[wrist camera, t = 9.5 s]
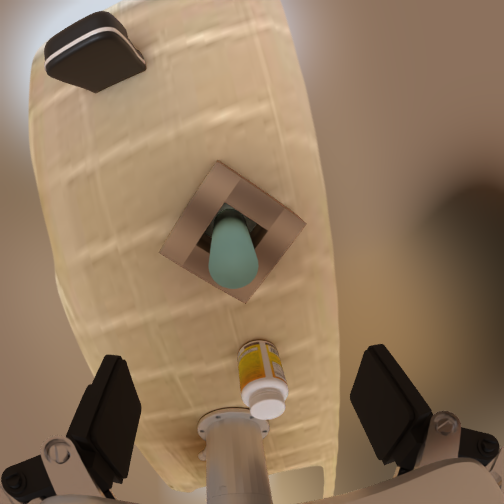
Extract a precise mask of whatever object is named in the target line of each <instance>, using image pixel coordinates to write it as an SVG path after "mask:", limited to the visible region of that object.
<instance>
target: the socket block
mask: <svg viewBox="0 0 504 504" xmlns="http://www.w3.org/2000/svg"><path fill="white" fill-rule="evenodd" d="M224 202H226V203H227V204H229V205H230V206H232V207H233V208H235V209H236V210H238V211H239V212H241V213H242V214H244V215H245V216H247V217H248V218H250V219H251V220H253V221H254V222H256V223H257V225H256V227H255V228H254V229H253V231H252V232H251V234H250V238H251V241H252V244H253V247H254V250H255V253H256V256H257V259H258V272H257V274H256V276H255V278H254V279H253V280H252V282H250V283H249V284H248V285H246V286H244V287H242V288H238V289H229V288H225V287H222V286H220V285H219V284H217V283H216V282H215V281H214V280H213V278H212V277H211V275H210V272H209V257H210V249H211V241H212V238H211V237H209V236H208V235H206V234H205V233H204V232H205V230H206V229H207V227H208V226H209V224H210V223H211V221H212V220H213V218H214V217H215V215H216V214H217V212H218V211H219V209H220V208H221V206H222V205H223V203H224ZM305 225H306V223H305V222H304V221H303V220H302V219H301V218H300V217H298V216H297V215H296V214H295V213H294V212H292V211H291V210H290V209H288V208H287V207H286V206H284V205H283V204H281V203H280V202H279V201H277V200H276V199H274V198H273V197H271V196H270V195H269V194H267V193H266V192H264V191H263V190H261V189H260V188H259V187H257V186H256V185H254V184H253V183H251V182H250V181H248V180H247V179H245V178H244V177H243V176H241V175H240V174H238V173H237V172H235V171H234V170H232V169H231V168H229V167H228V166H226V165H225V164H223V163H222V162H220V161H219V160H218V161H217V162H216V163H215V164H214V166H213V167H212V169H211V170H210V172H209V173H208V175H207V176H206V178H205V179H204V181H203V182H202V184H201V185H200V187H199V188H198V190H197V191H196V193H195V194H194V196H193V197H192V199H191V201H190V202H189V204H188V205H187V207H186V208H185V210H184V212H183V213H182V215H181V216H180V218H179V220H178V221H177V223H176V224H175V226H174V228H173V229H172V231H171V233H170V234H169V236H168V238H167V239H166V241H165V243H164V244H163V246H162V248H161V249H160V251H159V253H160V254H162V255H163V256H165V257H166V258H168V259H170V260H171V261H173V262H175V263H176V264H178V265H180V266H181V267H183V268H185V269H186V270H188V271H190V272H191V273H193V274H195V275H196V276H198V277H200V278H201V279H203V280H205V281H206V282H208V283H210V284H212V285H213V286H215V287H217V288H218V289H220V290H222V291H224V292H225V293H227V294H229V295H231V296H232V297H234V298H236V299H238V300H240V301H241V302H243V303H245V304H246V303H247V301H248V300H249V299H250V297H251V296H252V295H253V294H254V292H255V291H256V290H257V288H258V287H259V286H260V285H261V283H262V282H263V281H264V279H265V278H266V277H267V276H268V274H269V273H270V272H271V270H272V269H273V268H274V266H275V265H276V264H277V262H278V261H279V260H280V258H281V257H282V256H283V255H284V253H285V252H286V251H287V249H288V248H289V247H290V245H291V244H292V243H293V241H294V240H295V239H296V237H297V236H298V235H299V233H300V232H301V231H302V229H303V228H304V227H305Z"/></svg>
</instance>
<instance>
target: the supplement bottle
mask: <svg viewBox="0 0 504 504" xmlns="http://www.w3.org/2000/svg"><path fill="white" fill-rule="evenodd" d="M238 368H239V378H240V388H241V397H242V400H243V402H244V403H245V404H246V405H247V406H248V407H249V408H250V413H251V415H252V416H253V417H255V418H257V419H261V420H269V419H273V418H276V417H278V416H280V415H281V414H282V413H283V412H284V411H285V400H286V398H287V396H288V386H287V382H286V379H285V375H284V372H283V368H282V365H281V361H280V358H279V354H278V351H277V349H276V347H275V346H274V345H273V344H271V343H269V342H267V341H262V340H257V341H252V342H249V343H247V344H245V345H244V346H243V347H242V348H241V349H240V351H239V353H238Z"/></svg>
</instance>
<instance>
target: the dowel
mask: <svg viewBox="0 0 504 504" xmlns="http://www.w3.org/2000/svg"><path fill="white" fill-rule="evenodd" d="M209 272H210V275H211V277H212V278H213V280H214V281H215V282H216V283H217V284H219V285H220V286H222V287H225V288H229V289H238V288H242V287H244V286H246V285H248V284H249V283H250V282H252V280H253V279H254V278H255V276H256V274H257V272H258V259H257V256H256V253H255V250H254V247H253V244H252V241H251V238H250V234H249V231H248V228H247V225H246V222H245V219H244V217H243V215H242V214H241V213H240V212H239V211H237V210H234V209H225V210H223V211H221V212H220V213H218V215H217V216H216V218H215V220H214V227H213V234H212V241H211V249H210V257H209Z"/></svg>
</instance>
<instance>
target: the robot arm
mask: <svg viewBox="0 0 504 504" xmlns="http://www.w3.org/2000/svg"><path fill="white" fill-rule="evenodd" d="M350 400H351V403H352V405H353V407H354V409H355V411H356V413H357V415H358V417H359V419H360V422H361V424H362V426H363V428H364V430H365V432H366V434H367V436H368V439H369V441H370V443H371V445H372V447H373V449H374V451H375V454H376V456H377V458H378V459H379V460H382V461H383V463H384V465H386V464H389V463H392V462H394V461H395V462H396V464H397V468H396V471H395V474H394V476H393V478H392V479H389V480H386V481H383V482H380V483H378V484H375V485H371V486H368V487H365V488H362V489H359V490H355V491H352V492H349V493H345V494H341V495H337V496H333V497H328V498H324V499H319V500H314V501H309V502H304V503H298V504H504V447H502V448H501V449H500V448H499V443H498V441H497V439H496V438H495V437H494V436H493V435H490V434H486V433H482V432H478V431H474V430H470V429H466V428H462V427H461V422H460V420H459V418H458V417H457V416H456V415H455V414H453V413H452V412H449V411H439V412H437V413H435V414H434V415H433V414H432V412H431V409H430V407H429V406H428V404H427V403H426V402H425V400H424V399H423V397H422V396H421V395H420V393H419V392H418V390H417V389H416V387H415V386H414V385H413V383H412V382H411V381H410V379H409V378H408V377H407V375H406V374H405V372H404V371H403V370H402V368H401V367H400V366H399V364H398V363H397V362H396V360H395V359H394V357H393V356H392V355H391V354H390V352H389V351H388V350H387V348H386V347H385V346H384V345H383V344H378V345H373V346H369V347H368V349H367V350H366V351H365V352H364V354H363V358H362V361H361V364H360V367H359V370H358V373H357V376H356V379H355V382H354V385H353V388H352V390H351V394H350ZM140 415H141V403H140V401H139V398H138V395H137V392H136V390H135V387H134V384H133V381H132V378H131V375H130V372H129V369H128V366H127V362H126V361H125V360H122V357H121V356H117V355H105V357H104V359H103V361H102V363H101V365H100V367H99V370H98V372H97V374H96V376H95V378H94V380H93V383H92V384H91V385H88V387H87V388H86V390H85V393H84V395H83V397H82V399H81V401H80V404H79V406H78V408H77V410H76V413H75V415H74V418H73V420H72V422H71V425H70V427H69V430H68V432H67V435H66V437H64V436H58V435H56V436H52V437H49V438H47V439H46V440H45V441H44V442H43V444H42V446H41V450H40V453H41V455H38V456H36V457H33V458H31V459H28V460H26V461H23V462H21V463H18V464H16V465H13V466H10V467H8V468H7V469H5V471H4V472H3V474H2V477H1V479H2V480H1V482H2V483H1V484H0V504H138V503H132V502H125V501H121V500H118V499H117V498H116V496H115V495H114V493H113V492H112V490H111V488H112V484H113V482H115V483H120V484H122V482H123V478H127V476H128V471H129V466H130V461H131V455H132V451H133V445H134V441H135V437H136V432H137V428H138V423H139V419H140ZM268 433H269V423H268V420H261V419H257V418H255V417H253V416H252V415H251V413H250V410H249V409H242V408H227V409H221V410H216V411H213V412H211V413H209V414H207V415H205V416H204V417H202V418H201V420H200V421H199V423H198V434H199V435H200V437H201V438H202V439H203V440H205V441H206V447H205V450H203V451H201V452H200V453H199V454H198V457H199V459H200V460H202V461H205V460H206V486H207V504H273V502H272V496H271V490H270V484H269V478H268V472H267V465H266V459H265V453H264V447H263V440H262V439H264V438H265V437H266V436H267V434H268Z"/></svg>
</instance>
